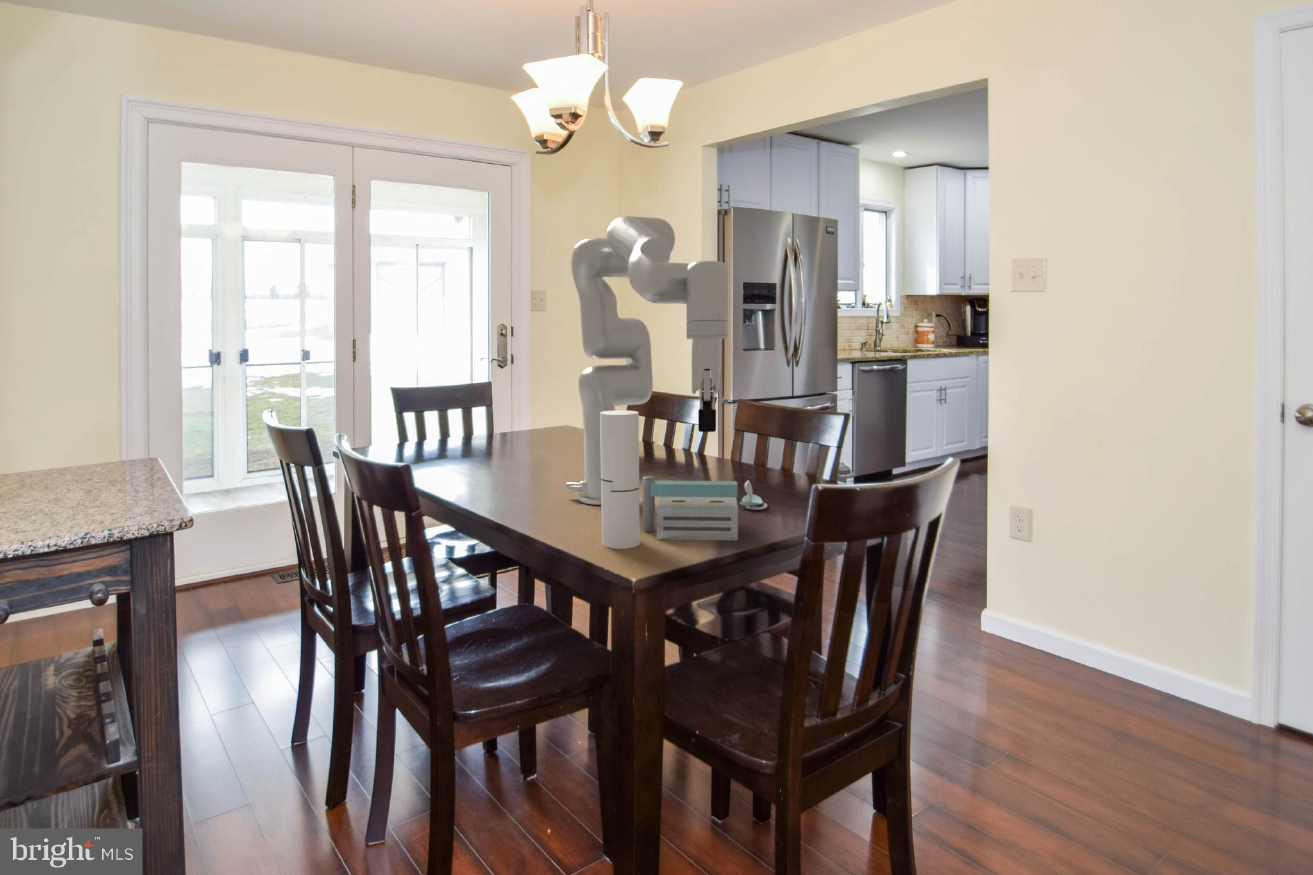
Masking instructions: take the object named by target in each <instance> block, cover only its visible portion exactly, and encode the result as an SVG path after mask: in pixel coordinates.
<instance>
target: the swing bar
mask: <svg viewBox="0 0 1313 875" xmlns="http://www.w3.org/2000/svg"><path fill="white" fill-rule="evenodd" d="M657 497H659V498H660V497H736V498H738V482H737V481H736V480H734V481H732V480H656V478H655V476H653V475H648V476H647V475H646V476H643V477H642V530H643V532H653V531H655V530H656V498H657Z"/></svg>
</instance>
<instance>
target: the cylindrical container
mask: <svg viewBox="0 0 1313 875" xmlns="http://www.w3.org/2000/svg"><path fill="white" fill-rule="evenodd" d="M615 410H616V409H615ZM639 423H640V422H639V411H635V410H618V409H617V410H616V411H604V412H600V446H601V505H600V506H601V507H600V508H601V509H600V510H601V545H602V546H603V545H604V546H603V547H604V548H608V547H609V548H608V549H615V550H622V549H624V550H625V549H626V550H627V549H632V548H636V547H638V546H639V545H640V544H641V541H640V539H641V538H640V534H641V532H640V442H639V440H640V439H639V438H640V435H639V434H640V433H639V432H640V431H639V430H640V427H639Z"/></svg>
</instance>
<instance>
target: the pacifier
mask: <svg viewBox="0 0 1313 875" xmlns="http://www.w3.org/2000/svg"><path fill="white" fill-rule="evenodd" d="M750 481H751V480H746V482H744V490H745V491H744V492H745V493H747V494H746V495H744V496H743V497H742V499H741V501H740V502H739V505H742V506H745V509H748V510H754V511H761V510H765V509H767V508H768V504H767V503H765V502H763V499H762V498H761V496H758V495H757V494H754V493H753V487H752V486H753V485H752V483H751V482H750Z"/></svg>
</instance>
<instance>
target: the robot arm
mask: <svg viewBox="0 0 1313 875" xmlns="http://www.w3.org/2000/svg"><path fill="white" fill-rule="evenodd" d="M674 231H675V230H674V229H673V227H672V225H671V224H670V222H668V221H667V220H666V219H663V218H659V217H648V216H647V217H646V216H632V215H630V216H629V215H628V216H627V215H626V216H620V217H618V218H615V219H614V220H613V221H612V222H611V223H610V225H609V226H608V228H607V230H606V237H593V238H585V239H583V240H581V241H579V242H577V244H575V246H574V248H573V250H572V253H571V254H572V255H571V261H570V262H571V263H570V264H571V273H572V277H573V282H574V285H575V288H576V291H577V293H578V294H577V295H578V300H579V307H580V308H579V309H580V310H579V311H580V323H581V324H580V325H581V327H580V328H581V339H582V347H583V348H582V349H583V351H584V353H585V355H586V356H587V357H588V358H590V359H594V360H623V359H624V360H625V363H626V364H604V365H603V364H602V365H600V364H599V365H593V366H590V367H587V368H585V369H584V370H583V371H582V372H581V374H579V378H578V392H579V396H580V397H579V398H580V403H581V407H582V419H583V420H582V421H583V423H582V424H583V451H584V454H583V456H584V460H583V461H584V465H583V466H584V479H583V480H580V481H579V482H575V481H574V482H573V481H570V482H568V481H567V482H566V491H570V492H579V494H578V495H577V496H578V498H577V499H578V501H579V502H581V503H583V504H587V505H593V506H594V505H595V506H601V446H600V412H604V411H616V408H615V407H620V406H621V407H622V406H633V405H634V406H635V405H643V404H645V403H647V402H649V400H650V398H651V396H652V393H653V387H654V385H653V384H654V383H653V381H654V379H653V363H652V362H653V361H652V360H653V359H652V345H651V344H652V343H651V337H650V336H651V335H650V333H649V329H648V327H647V325H646V324H645V322H643V321H642V320H641V319H639V318H635V317H619V314H618V303H617V302H618V301H617V297H616V294H615V292H614V290H613V289H612V288H611V286H610V285H609V283H608V282H607V281H606V280H605V279H604V278H628V280H629V284H630V286H631V288H632V289H633V290H634V291H635V292H636V293H637V294H638V296H640V297H642V298H643V299H644V300H645V301H647V302H649V303H652V304H657V305H659V304H662V305H663V304H664V305H665V304H667V305H669V304H670V305H672V304H673V305H674V304H675V305H676V304H678V305H679V304H681V305H686V309H685V310H686V315H685V316H686V340H692V341H691V393H692V394H693V395H696V392H699V409H698V411H697V412H698V413H697V414H698V418H697V420H698V424H697V425H698V428H697V429H698V432H700V433H715V432H716V431H717V409H716V406H715V404H716V403H715V402H716V401H715V397H716V394H718V393H719V390H720V383H721V370H722V340H727V339H729V336H728V335H729V269H728V265H727V264H726V263H725V262H723V261H718V260H700V261H694V262H693V261H692V262H690V263H689V262H688V263H685V262H670V259H671V253H672V252H673V250H674V249H675V248H674V247H675V242H676V241H675V240H676V237H675V236H676V235H675V232H674Z"/></svg>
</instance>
